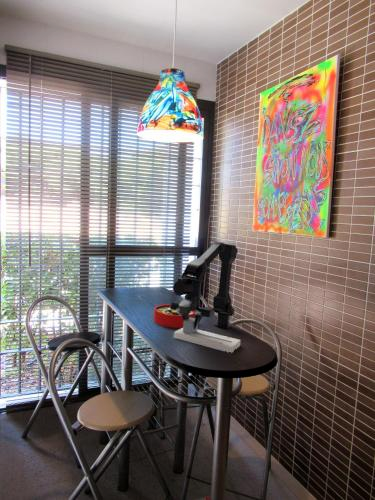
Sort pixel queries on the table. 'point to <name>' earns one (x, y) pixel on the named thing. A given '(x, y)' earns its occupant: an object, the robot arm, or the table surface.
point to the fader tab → (189, 326)
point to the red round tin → (169, 316)
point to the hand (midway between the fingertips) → (190, 328)
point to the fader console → (209, 340)
